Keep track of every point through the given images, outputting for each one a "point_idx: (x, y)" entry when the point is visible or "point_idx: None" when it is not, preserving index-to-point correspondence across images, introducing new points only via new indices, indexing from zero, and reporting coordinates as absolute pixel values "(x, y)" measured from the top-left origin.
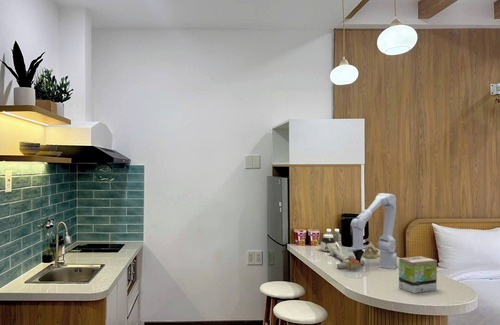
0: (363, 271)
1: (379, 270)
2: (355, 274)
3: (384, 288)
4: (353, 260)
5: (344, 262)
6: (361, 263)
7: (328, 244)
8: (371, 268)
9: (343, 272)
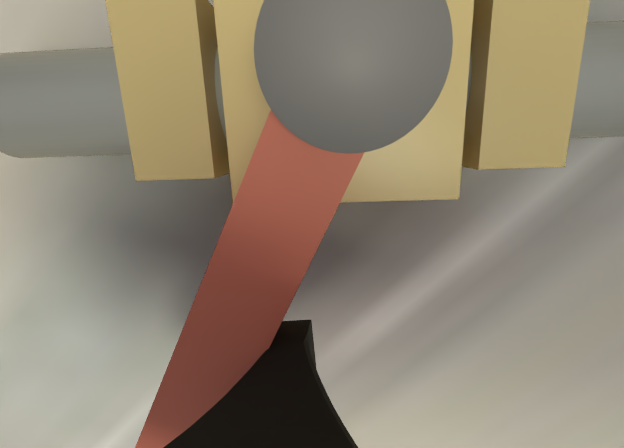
0: (317, 367)
1: (549, 424)
2: (127, 412)
3: None
4: (180, 341)
5: (134, 80)
6: (576, 136)
7: None
8: (550, 312)
9: (28, 286)
